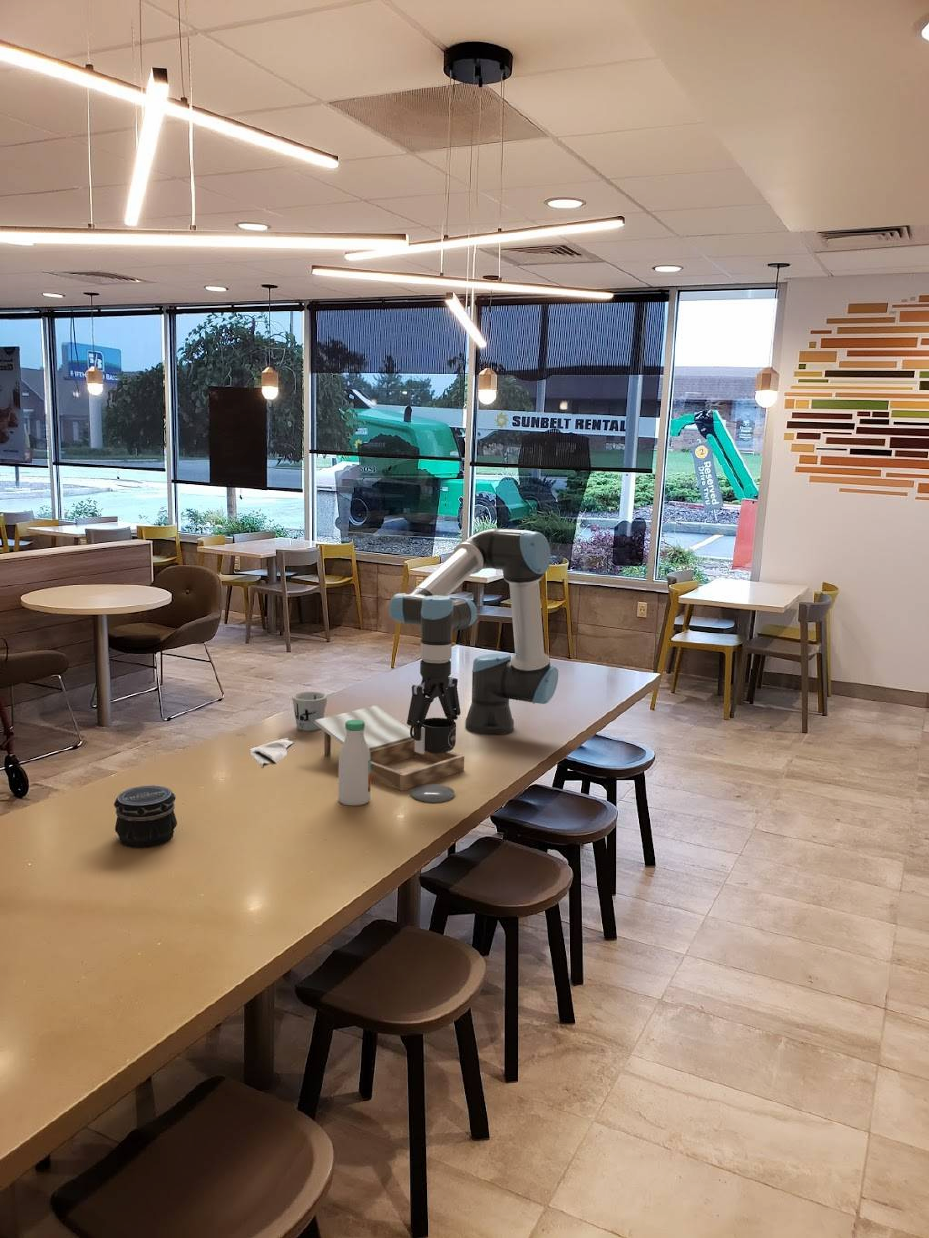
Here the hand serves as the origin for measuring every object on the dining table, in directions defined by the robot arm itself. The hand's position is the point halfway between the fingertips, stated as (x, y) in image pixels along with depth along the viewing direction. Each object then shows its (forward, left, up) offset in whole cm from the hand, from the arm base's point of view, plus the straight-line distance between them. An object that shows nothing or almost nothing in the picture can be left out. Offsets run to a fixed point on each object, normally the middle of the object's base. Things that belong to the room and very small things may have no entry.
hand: (433, 748), depth 231 cm
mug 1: (-14, -66, -12) cm, 69 cm away
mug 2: (+1, 0, 0) cm, 1 cm away
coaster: (0, 0, -12) cm, 12 cm away
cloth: (+10, -54, -13) cm, 56 cm away
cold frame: (-8, -25, -12) cm, 29 cm away
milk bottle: (+17, -10, -12) cm, 23 cm away
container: (+64, -24, -12) cm, 69 cm away
